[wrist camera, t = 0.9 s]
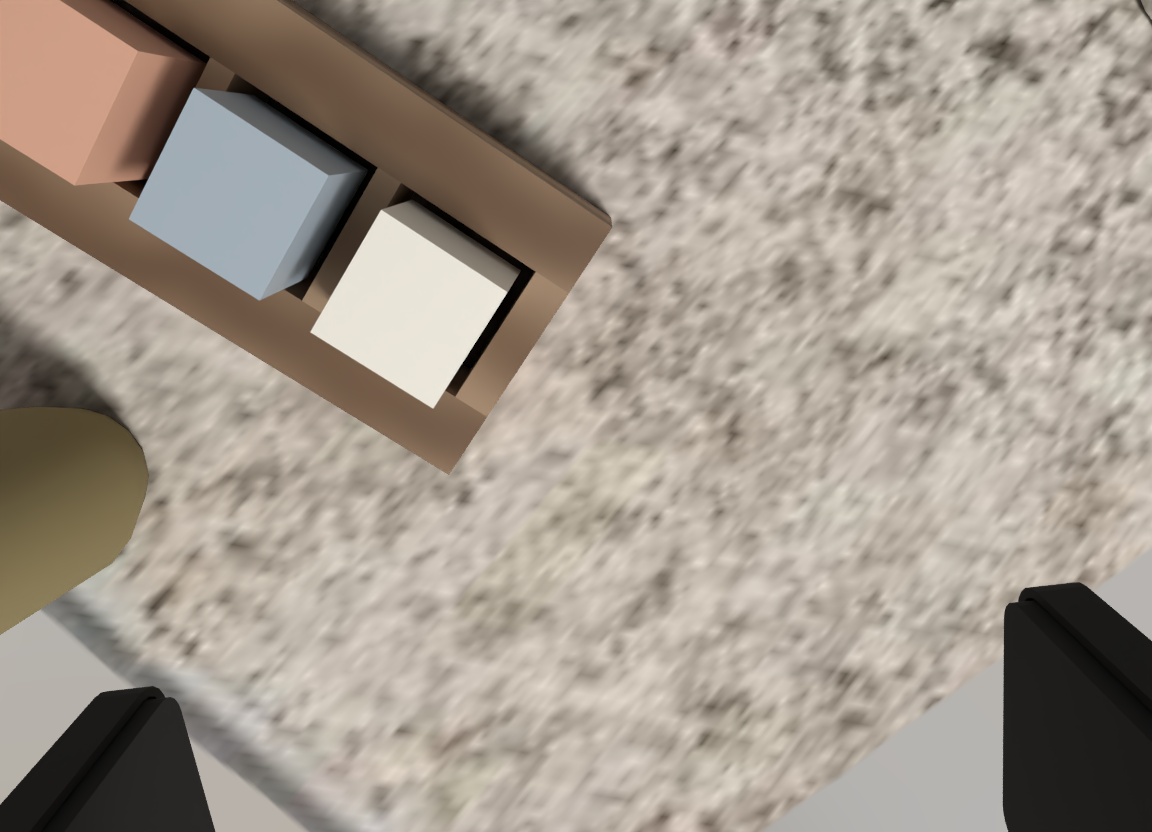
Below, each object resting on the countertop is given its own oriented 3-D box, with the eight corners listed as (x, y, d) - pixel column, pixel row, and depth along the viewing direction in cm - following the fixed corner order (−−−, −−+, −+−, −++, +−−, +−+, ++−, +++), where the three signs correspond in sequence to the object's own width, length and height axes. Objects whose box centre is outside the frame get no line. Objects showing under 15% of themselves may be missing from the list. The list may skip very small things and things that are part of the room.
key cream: (412, 199, 35) (381, 209, 30) (520, 270, 36) (507, 292, 31) (350, 305, 37) (310, 332, 32) (455, 372, 37) (433, 408, 32)
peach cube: (85, -16, 33) (-7, -43, 28) (206, 64, 34) (137, 51, 29) (32, 104, 35) (-66, 98, 30) (150, 178, 35) (74, 185, 30)
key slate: (254, 95, 34) (193, 87, 29) (368, 170, 35) (328, 175, 30) (195, 207, 36) (128, 218, 31) (307, 278, 36) (259, 300, 31)
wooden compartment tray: (120, -116, 35) (53, -151, 31) (611, 217, 38) (612, 227, 34) (1, 152, 38) (-75, 154, 34) (464, 439, 42) (448, 474, 37)
